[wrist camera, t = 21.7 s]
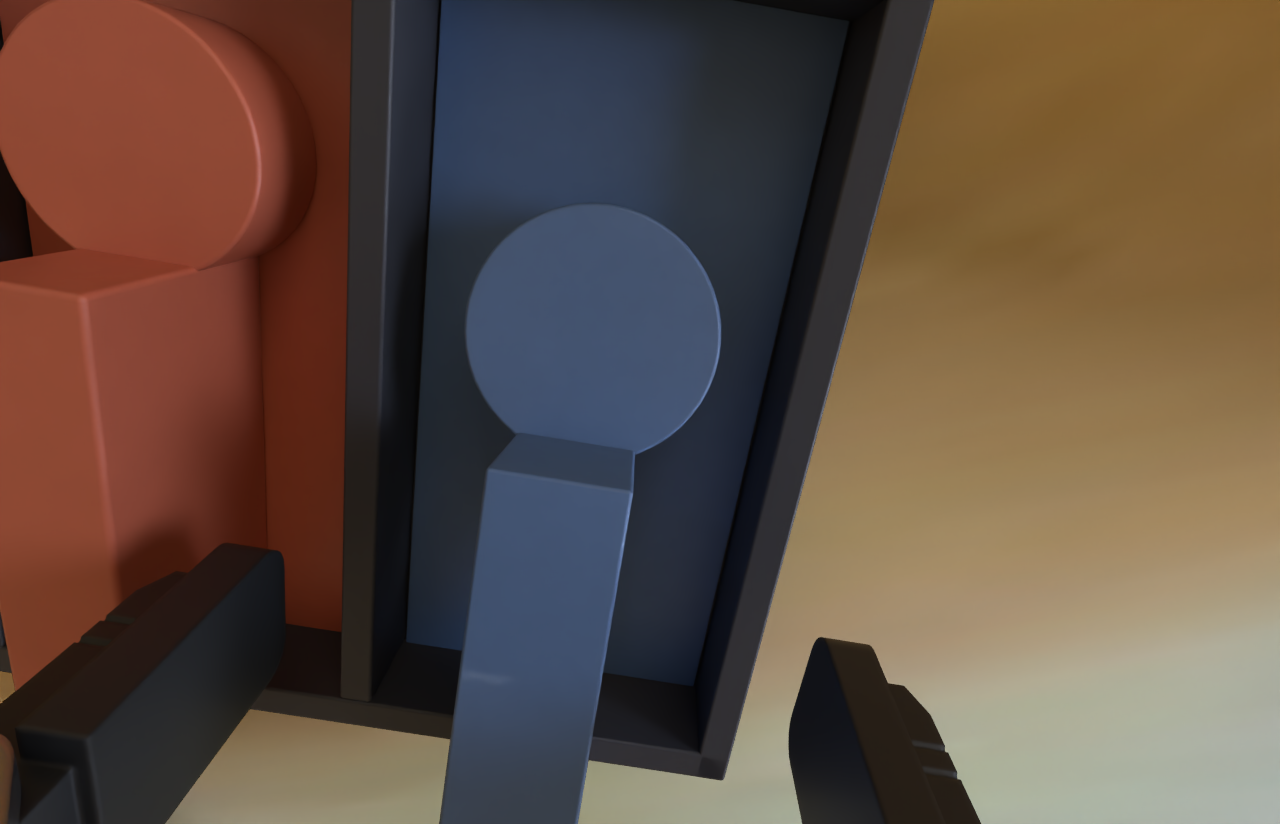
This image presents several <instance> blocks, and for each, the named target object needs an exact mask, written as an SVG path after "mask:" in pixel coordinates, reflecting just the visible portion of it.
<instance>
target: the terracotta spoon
mask: <svg viewBox="0 0 1280 824" xmlns="http://www.w3.org/2000/svg"><path fill="white" fill-rule="evenodd" d="M0 151H1V154H2V157H3V160H4V162H5V164H6V166H7V169H8V171H9V173H10V175H11V177H12V179H13V181H14V182H15V184H16V186H17V188H18V189H19V191H20V193H21V194H22V196H23V197H24V198H25V200H26V201H27V203H28V204H29V205H30V207H31V208H32V210H33V211H34V212H35V213H36V214H37V215H38V216H39V218H40V219H41V220H42V221H43V222H44V223H45V224H46V225H47V226H48V227H49V228H50V229H51V230H52V231H53V232H54V233H55V234H56V235H57V236H59V237H60V238H61V239H62V240H64V241H65V242H66V243H68V244H69V245H70V246H71V247H73V248H74V249H75V250H69V251H63V252H57V253H51V254H45V255H39V256H33V257H27V258H22V259H16V260H10V261H4V262H0V613H1V618H2V623H3V628H4V634H5V639H6V644H7V650H8V655H9V660H10V665H11V671H12V676H13V681H14V686H15V691H17V690H18V689H19V688H20V687H21V686H23V685H24V684H25V683H26V682H27V681H29V680H30V679H31V678H32V677H33V676H35V675H36V674H37V673H38V672H39V671H40V670H42V669H43V668H44V667H45V666H46V665H48V664H49V663H50V662H51V661H52V660H54V659H55V658H56V657H57V656H58V655H60V654H61V653H62V652H63V651H64V650H66V649H67V648H68V647H69V646H70V645H71V644H73V643H74V642H76V643H78V642H79V641H80V639H81V636H82V635H83V634H85V633H86V632H87V631H88V630H89V629H91V628H92V627H93V626H94V625H95V624H97V623H98V622H99V621H104V620H105V619H106V615H107V614H108V613H110V612H111V611H112V610H113V609H114V608H116V607H117V606H118V605H119V604H120V603H122V602H123V601H124V600H125V599H126V598H128V597H129V596H130V595H131V594H132V593H134V592H135V591H136V590H138V589H140V588H142V587H144V586H146V585H148V584H150V583H152V582H154V581H157V580H159V579H161V578H163V577H165V576H167V575H169V574H171V573H173V572H175V571H180V572H186V573H188V572H189V571H191V570H192V569H193V568H194V567H195V566H196V565H197V564H198V563H200V562H201V561H202V560H203V559H204V558H205V557H206V556H207V555H208V554H210V553H211V552H212V551H213V550H214V549H215V548H216V547H218V546H219V545H221V544H223V543H233V544H240V545H246V546H252V547H259V548H265V549H267V527H266V494H265V460H264V426H263V392H262V358H261V324H260V291H259V257H258V256H259V255H262V254H264V253H266V252H268V251H270V250H272V249H274V248H275V247H276V246H278V245H279V244H280V243H282V242H283V241H284V240H285V239H286V238H287V237H288V236H289V235H290V234H291V233H292V232H293V231H294V230H295V229H296V227H297V226H298V224H299V223H300V222H301V220H302V218H303V216H304V214H305V212H306V210H307V209H308V206H309V203H310V200H311V197H312V194H313V190H314V184H315V179H316V148H315V143H314V137H313V132H312V129H311V125H310V122H309V119H308V116H307V113H306V111H305V109H304V106H303V104H302V102H301V100H300V98H299V96H298V94H297V93H296V91H295V89H294V87H293V85H292V84H291V82H290V81H289V80H288V78H287V77H286V75H285V74H284V73H283V71H282V70H281V69H280V67H279V66H278V65H277V64H276V63H275V62H274V61H273V60H272V59H271V57H270V56H269V55H268V54H266V53H265V52H264V51H263V50H262V49H261V48H260V47H259V46H257V45H256V44H255V43H254V42H252V41H251V40H250V39H248V38H247V37H245V36H244V35H242V34H241V33H239V32H237V31H236V30H234V29H232V28H230V27H228V26H226V25H224V24H221V23H219V22H216V21H214V20H211V19H208V18H205V17H201V16H198V15H194V14H191V13H187V12H184V11H181V10H177V9H174V8H170V7H167V6H163V5H160V4H156V3H153V2H149V1H146V0H50V1H48V2H46V3H44V4H42V5H41V6H39V7H37V8H36V9H34V10H33V11H31V12H30V13H29V14H28V15H26V16H25V17H24V18H23V19H22V20H21V21H20V22H19V23H18V24H17V25H16V27H15V28H14V29H13V31H12V32H11V33H10V35H9V36H8V38H7V40H6V41H5V43H4V45H3V47H2V49H1V51H0Z"/></svg>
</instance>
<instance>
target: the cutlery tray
mask: <svg viewBox="0 0 1280 824" xmlns="http://www.w3.org/2000/svg"><path fill="white" fill-rule="evenodd" d="M48 1H50V0H0V51H1V49H2V47H3V45H4V43H5V41H6V40H7V38H8V36H9V35H10V33H11V32H12V31H13V29H14V28H15V27H16V25H17V24H18V23H19V22H20V21H21V20H22V19H23V18H24V17H25V16H26V15H28V14H29V13H30V12H31V11H33V10H34V9H36V8H37V7H39V6H41V5H42V4H44V3H46V2H48ZM146 1H149V2H153V3H156V4H160V5H163V6H167V7H170V8H174V9H177V10H181V11H184V12H187V13H191V14H194V15H198V16H201V17H205V18H208V19H211V20H214V21H216V22H219V23H221V24H224V25H226V26H228V27H230V28H232V29H234V30H236V31H237V32H239V33H241V34H242V35H244V36H245V37H247V38H248V39H250V40H251V41H252V42H254V43H255V44H256V45H257V46H259V47H260V48H261V49H262V50H263V51H264V52H265V53H266V54H268V55H269V56H270V57H271V59H272V60H273V61H274V62H275V63H276V64H277V65H278V66H279V67H280V69H281V70H282V71H283V73H284V74H285V75H286V77H287V78H288V80H289V81H290V82H291V84H292V85H293V87H294V89H295V91H296V93H297V94H298V96H299V98H300V100H301V102H302V104H303V106H304V109H305V111H306V113H307V116H308V119H309V122H310V125H311V129H312V132H313V137H314V143H315V148H316V179H315V184H314V190H313V194H312V197H311V200H310V203H309V206H308V209H307V210H306V212H305V214H304V216H303V218H302V220H301V222H300V223H299V224H298V226H297V227H296V229H295V230H294V231H293V232H292V233H291V234H290V235H289V236H288V237H287V238H286V239H285V240H284V241H283V242H282V243H280V244H279V245H278V246H276V247H275V248H274V249H272V250H270V251H268V252H266V253H264V254H262V255H259V256H258V257H259V291H260V324H261V358H262V392H263V426H264V460H265V494H266V527H267V549H271V550H278V551H279V552H281V554H282V556H283V559H284V566H285V617H286V639H285V646H284V651H283V654H282V658H281V661H280V663H279V666H278V668H277V670H276V672H275V674H274V676H273V678H272V679H271V681H270V682H269V683H268V685H267V686H266V688H265V689H264V690H263V692H262V693H261V694H260V696H259V697H258V698H257V700H256V701H255V702H254V704H253V705H252V706H251V708H250V709H254V710H261V711H267V712H274V713H280V714H287V715H294V716H300V717H307V718H314V719H320V720H327V721H333V722H340V723H347V724H353V725H360V726H366V727H373V728H380V729H386V730H393V731H399V732H406V733H413V734H419V735H426V736H433V737H439V738H446V739H450V738H451V730H452V723H453V715H454V708H455V700H456V692H457V685H458V677H459V669H460V662H461V654H462V647H463V639H464V631H465V624H466V616H467V608H468V601H469V593H470V585H471V578H472V570H473V563H474V555H475V547H476V540H477V532H478V524H479V517H480V509H481V502H482V494H483V486H484V479H485V471H486V469H487V468H488V467H489V466H490V464H491V463H492V462H493V461H494V460H495V459H496V458H497V456H498V455H499V454H500V453H501V452H502V451H503V450H504V449H505V447H506V446H507V445H508V444H509V443H510V442H511V441H512V439H513V438H514V437H515V436H516V434H514V433H513V432H512V431H511V430H510V429H509V428H507V427H506V426H505V425H504V424H503V423H502V422H501V421H500V420H499V419H498V418H497V416H496V415H495V414H494V413H493V412H492V411H491V409H490V408H489V406H488V405H487V403H486V402H485V400H484V399H483V397H482V396H481V394H480V392H479V390H478V388H477V386H476V384H475V382H474V379H473V376H472V373H471V370H470V367H469V364H468V359H467V354H466V350H465V338H464V324H465V312H466V307H467V302H468V297H469V294H470V291H471V288H472V285H473V282H474V280H475V278H476V276H477V274H478V272H479V270H480V268H481V266H482V264H483V263H484V261H485V260H486V258H487V257H488V255H489V254H490V252H491V251H492V250H493V249H494V248H495V247H496V246H497V244H498V243H499V242H500V241H501V240H502V239H503V238H504V237H505V236H506V235H508V234H509V233H510V232H511V231H512V230H513V229H515V228H516V227H518V226H519V225H521V224H522V223H524V222H525V221H527V220H528V219H530V218H532V217H534V216H536V215H539V214H541V213H543V212H545V211H548V210H551V209H554V208H558V207H561V206H566V205H572V204H578V203H602V204H612V205H617V206H621V207H625V208H629V209H632V210H635V211H637V212H640V213H642V214H645V215H647V216H649V217H651V218H652V219H654V220H656V221H658V222H660V223H661V224H663V225H664V226H665V227H667V228H668V229H670V230H671V231H672V232H674V233H675V234H676V235H677V236H678V237H679V238H680V239H681V240H682V241H683V242H684V243H685V244H686V245H687V246H688V247H689V248H690V249H691V251H692V252H693V253H694V254H695V256H696V257H697V258H698V260H699V261H700V263H701V265H702V266H703V268H704V270H705V271H706V273H707V275H708V277H709V280H710V282H711V284H712V287H713V289H714V292H715V295H716V299H717V302H718V306H719V313H720V319H721V347H720V356H719V360H718V364H717V368H716V372H715V375H714V378H713V380H712V383H711V385H710V388H709V390H708V392H707V393H706V395H705V397H704V399H703V401H702V402H701V404H700V405H699V407H698V408H697V409H696V411H695V412H694V413H693V415H692V416H691V417H690V418H689V419H688V420H687V421H686V422H685V423H684V424H683V425H682V427H681V428H679V429H678V430H677V431H676V432H674V433H673V434H672V435H671V436H669V437H668V438H667V439H665V440H664V441H662V442H660V443H659V444H657V445H655V446H654V447H652V448H650V449H647V450H645V451H643V452H640V453H638V454H635V462H634V484H633V498H632V504H631V509H630V515H629V521H628V527H627V533H626V539H625V545H624V551H623V557H622V563H621V569H620V575H619V581H618V587H617V593H616V599H615V605H614V611H613V617H612V623H611V629H610V635H609V641H608V646H607V652H606V658H605V664H604V670H603V676H602V682H601V688H600V694H599V700H598V706H597V712H596V718H595V724H594V730H593V736H592V742H591V748H590V754H589V760H591V761H598V762H604V763H611V764H618V765H624V766H631V767H637V768H644V769H651V770H657V771H664V772H670V773H677V774H684V775H690V776H696V777H702V778H709V779H715V780H723V779H724V777H725V773H726V770H727V766H728V762H729V758H730V755H731V751H732V747H733V744H734V740H735V736H736V733H737V729H738V725H739V721H740V718H741V714H742V710H743V707H744V703H745V699H746V696H747V692H748V688H749V684H750V681H751V677H752V673H753V670H754V666H755V662H756V658H757V655H758V651H759V647H760V644H761V640H762V636H763V633H764V629H765V625H766V621H767V618H768V614H769V610H770V607H771V603H772V599H773V596H774V592H775V588H776V584H777V581H778V577H779V573H780V570H781V566H782V562H783V559H784V555H785V551H786V547H787V544H788V540H789V536H790V533H791V529H792V525H793V522H794V518H795V514H796V510H797V507H798V503H799V499H800V496H801V492H802V488H803V484H804V481H805V477H806V473H807V470H808V466H809V462H810V459H811V455H812V451H813V447H814V444H815V440H816V436H817V433H818V429H819V425H820V422H821V418H822V414H823V410H824V407H825V403H826V399H827V396H828V392H829V388H830V385H831V381H832V377H833V373H834V370H835V366H836V362H837V359H838V355H839V351H840V347H841V344H842V340H843V336H844V333H845V329H846V325H847V322H848V318H849V314H850V310H851V307H852V303H853V299H854V296H855V292H856V288H857V285H858V281H859V277H860V273H861V270H862V266H863V262H864V259H865V255H866V251H867V248H868V244H869V240H870V236H871V233H872V229H873V225H874V222H875V218H876V214H877V210H878V207H879V203H880V199H881V196H882V192H883V188H884V185H885V181H886V177H887V173H888V170H889V166H890V162H891V159H892V155H893V151H894V148H895V144H896V140H897V136H898V133H899V129H900V125H901V122H902V118H903V114H904V111H905V107H906V103H907V99H908V96H909V92H910V88H911V85H912V81H913V77H914V73H915V70H916V66H917V62H918V59H919V55H920V51H921V48H922V44H923V40H924V36H925V33H926V29H927V25H928V22H929V18H930V14H931V11H932V7H933V3H934V0H146ZM69 250H75V249H74V248H73V247H71V246H70V245H69V244H68V243H66V242H65V241H64V240H62V239H61V238H60V237H59V236H57V235H56V234H55V233H54V232H53V231H52V230H51V229H50V228H49V227H48V226H47V225H46V224H45V223H44V222H43V221H42V220H41V219H40V218H39V216H38V215H37V214H36V213H35V212H34V211H33V210H32V208H31V207H30V205H29V204H28V203H27V201H26V200H25V198H24V197H23V196H22V194H21V193H20V191H19V189H18V188H17V186H16V184H15V182H14V181H13V179H12V177H11V175H10V173H9V171H8V169H7V166H6V164H5V162H4V160H3V157H2V154H1V151H0V262H4V261H10V260H16V259H22V258H27V257H33V256H39V255H45V254H51V253H57V252H63V251H69ZM0 671H3V672H9V673H12V671H11V665H10V660H9V655H8V650H7V644H6V639H5V634H4V628H3V623H2V618H1V613H0Z"/></svg>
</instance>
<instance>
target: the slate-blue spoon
mask: <svg viewBox="0 0 1280 824" xmlns="http://www.w3.org/2000/svg"><path fill="white" fill-rule="evenodd" d="M464 338H465V350H466V354H467V359H468V364H469V367H470V370H471V373H472V376H473V379H474V382H475V384H476V386H477V388H478V390H479V392H480V394H481V396H482V397H483V399H484V400H485V402H486V403H487V405H488V406H489V408H490V409H491V411H492V412H493V413H494V414H495V415H496V416H497V418H498V419H499V420H500V421H501V422H502V423H503V424H504V425H505V426H506V427H507V428H509V429H510V430H511V431H512V432H513V433H514V434H516V436H515V437H514V438H513V439H512V441H511V442H510V443H509V444H508V445H507V446H506V447H505V449H504V450H503V451H502V452H501V453H500V454H499V455H498V456H497V458H496V459H495V460H494V461H493V462H492V463H491V464H490V466H489V467H488V468H487V469H486V471H485V479H484V486H483V494H482V502H481V509H480V517H479V524H478V532H477V540H476V547H475V555H474V563H473V570H472V578H471V585H470V593H469V601H468V608H467V616H466V624H465V631H464V639H463V647H462V654H461V662H460V669H459V677H458V685H457V692H456V700H455V708H454V715H453V723H452V730H451V738H450V746H449V753H448V761H447V769H446V776H445V784H444V791H443V799H442V807H441V814H440V822H439V824H578V819H579V813H580V807H581V801H582V795H583V789H584V784H585V778H586V772H587V766H588V760H589V754H590V748H591V742H592V736H593V730H594V724H595V718H596V712H597V706H598V700H599V694H600V688H601V682H602V676H603V670H604V664H605V658H606V652H607V646H608V641H609V635H610V629H611V623H612V617H613V611H614V605H615V599H616V593H617V587H618V581H619V575H620V569H621V563H622V557H623V551H624V545H625V539H626V533H627V527H628V521H629V515H630V509H631V504H632V498H633V484H634V462H635V454H638V453H640V452H643V451H645V450H647V449H650V448H652V447H654V446H655V445H657V444H659V443H660V442H662V441H664V440H665V439H667V438H668V437H669V436H671V435H672V434H673V433H674V432H676V431H677V430H678V429H679V428H681V427H682V425H683V424H684V423H685V422H686V421H687V420H688V419H689V418H690V417H691V416H692V415H693V413H694V412H695V411H696V409H697V408H698V407H699V405H700V404H701V402H702V401H703V399H704V397H705V395H706V393H707V392H708V390H709V388H710V385H711V383H712V380H713V378H714V375H715V372H716V368H717V364H718V360H719V356H720V347H721V319H720V313H719V306H718V302H717V299H716V295H715V292H714V289H713V287H712V284H711V282H710V280H709V277H708V275H707V273H706V271H705V270H704V268H703V266H702V265H701V263H700V261H699V260H698V258H697V257H696V256H695V254H694V253H693V252H692V251H691V249H690V248H689V247H688V246H687V245H686V244H685V243H684V242H683V241H682V240H681V239H680V238H679V237H678V236H677V235H676V234H675V233H674V232H672V231H671V230H670V229H668V228H667V227H665V226H664V225H663V224H661V223H660V222H658V221H656V220H654V219H652V218H651V217H649V216H647V215H645V214H642V213H640V212H637V211H635V210H632V209H629V208H625V207H621V206H617V205H612V204H602V203H578V204H572V205H566V206H561V207H558V208H554V209H551V210H548V211H545V212H543V213H541V214H539V215H536V216H534V217H532V218H530V219H528V220H527V221H525V222H524V223H522V224H521V225H519V226H518V227H516V228H515V229H513V230H512V231H511V232H510V233H509V234H508V235H506V236H505V237H504V238H503V239H502V240H501V241H500V242H499V243H498V244H497V246H496V247H495V248H494V249H493V250H492V251H491V252H490V254H489V255H488V257H487V258H486V260H485V261H484V263H483V264H482V266H481V268H480V270H479V272H478V274H477V276H476V278H475V280H474V282H473V285H472V288H471V291H470V294H469V297H468V302H467V307H466V312H465V324H464Z"/></svg>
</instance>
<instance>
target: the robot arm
mask: <svg viewBox="0 0 1280 824" xmlns="http://www.w3.org/2000/svg"><path fill="white" fill-rule="evenodd" d="M285 639H286V617H285V566H284V559H283V556H282V554H281V552H279V551H278V550H271V549H265V548H259V547H252V546H246V545H240V544H233V543H223V544H221V545H219V546H218V547H216V548H215V549H214V550H213V551H212V552H211V553H210V554H208V555H207V556H206V557H205V558H204V559H203V560H202V561H201V562H200V563H198V564H197V565H196V566H195V567H194V568H193V569H192V570H191V571H189V572H188V573H186V572H180V571H175V572H173V573H171V574H169V575H167V576H165V577H163V578H161V579H159V580H157V581H154V582H152V583H150V584H148V585H146V586H144V587H142V588H140V589H138V590H136V591H135V592H134V593H132V594H131V595H130V596H129V597H128V598H126V599H125V600H124V601H123V602H122V603H120V604H119V605H118V606H117V607H116V608H114V609H113V610H112V611H111V612H110V613H108V614H107V615H106V619H105V620H104V621H99V622H98V623H97V624H95V625H94V626H93V627H92V628H91V629H89V630H88V631H87V632H86V633H85V634H83V635H82V636H81V639H80V641H79V642H78V643H76V642H74V643H73V644H71V645H70V646H69V647H68V648H67V649H66V650H64V651H63V652H62V653H61V654H60V655H58V656H57V657H56V658H55V659H54V660H52V661H51V662H50V663H49V664H48V665H46V666H45V667H44V668H43V669H42V670H40V671H39V672H38V673H37V674H36V675H35V676H33V677H32V678H31V679H30V680H29V681H27V682H26V683H25V684H24V685H23V686H21V687H20V688H19V689H18V690H17V691H15V692H14V693H13V694H12V695H11V696H9V697H8V698H7V699H6V700H5V701H3V702H2V703H1V704H0V824H165V823H166V821H167V820H168V819H169V817H170V816H171V815H172V813H173V812H174V811H175V809H176V808H177V807H178V805H179V804H180V802H181V801H182V800H183V798H184V797H185V796H186V794H187V793H188V792H189V790H190V789H191V788H192V786H193V785H194V784H195V782H196V781H197V779H198V778H199V777H200V775H201V774H202V773H203V771H204V770H205V769H206V767H207V766H208V765H209V763H210V762H211V761H212V759H213V758H214V756H215V755H216V754H217V752H218V751H219V750H220V748H221V747H222V746H223V744H224V743H225V742H226V740H227V739H228V738H229V736H230V735H231V733H232V732H233V731H234V729H235V728H236V727H237V725H238V724H239V723H240V721H241V720H242V719H243V717H244V716H245V715H246V713H247V712H248V710H249V709H250V708H251V706H252V705H253V704H254V702H255V701H256V700H257V698H258V697H259V696H260V694H261V693H262V692H263V690H264V689H265V688H266V686H267V685H268V683H269V682H270V681H271V679H272V678H273V676H274V674H275V672H276V670H277V668H278V666H279V663H280V661H281V658H282V654H283V651H284V646H285ZM789 759H790V765H791V770H792V775H793V779H794V784H795V789H796V794H797V799H798V804H799V809H800V814H801V819H802V824H981V822H980V820H979V818H978V816H977V814H976V812H975V810H974V807H973V805H972V803H971V801H970V799H969V797H968V795H967V792H966V790H965V788H964V786H963V784H962V782H961V780H959V779H957V771H956V769H955V767H954V764H953V762H952V760H951V758H950V756H949V754H948V753H947V752H945V745H944V743H943V741H942V739H941V737H940V734H939V732H938V730H937V728H936V726H935V724H934V722H933V719H932V717H931V715H930V714H929V713H928V712H927V711H926V709H925V708H924V707H923V706H922V705H921V704H920V703H919V702H918V701H917V700H916V699H915V697H914V696H913V695H912V694H911V693H910V692H909V691H908V690H907V689H906V688H905V686H901V685H895V684H888V683H887V680H886V678H885V676H884V673H883V671H882V668H881V666H880V664H879V661H878V659H877V656H876V654H875V652H874V650H873V648H872V647H871V646H870V645H867V644H861V643H854V642H848V641H842V640H835V639H829V638H822V637H820V638H818V639H817V640H816V641H815V643H814V645H813V648H812V651H811V654H810V657H809V660H808V664H807V667H806V670H805V674H804V677H803V680H802V683H801V687H800V690H799V693H798V696H797V700H796V703H795V706H794V710H793V713H792V717H791V721H790V728H789Z"/></svg>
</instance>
